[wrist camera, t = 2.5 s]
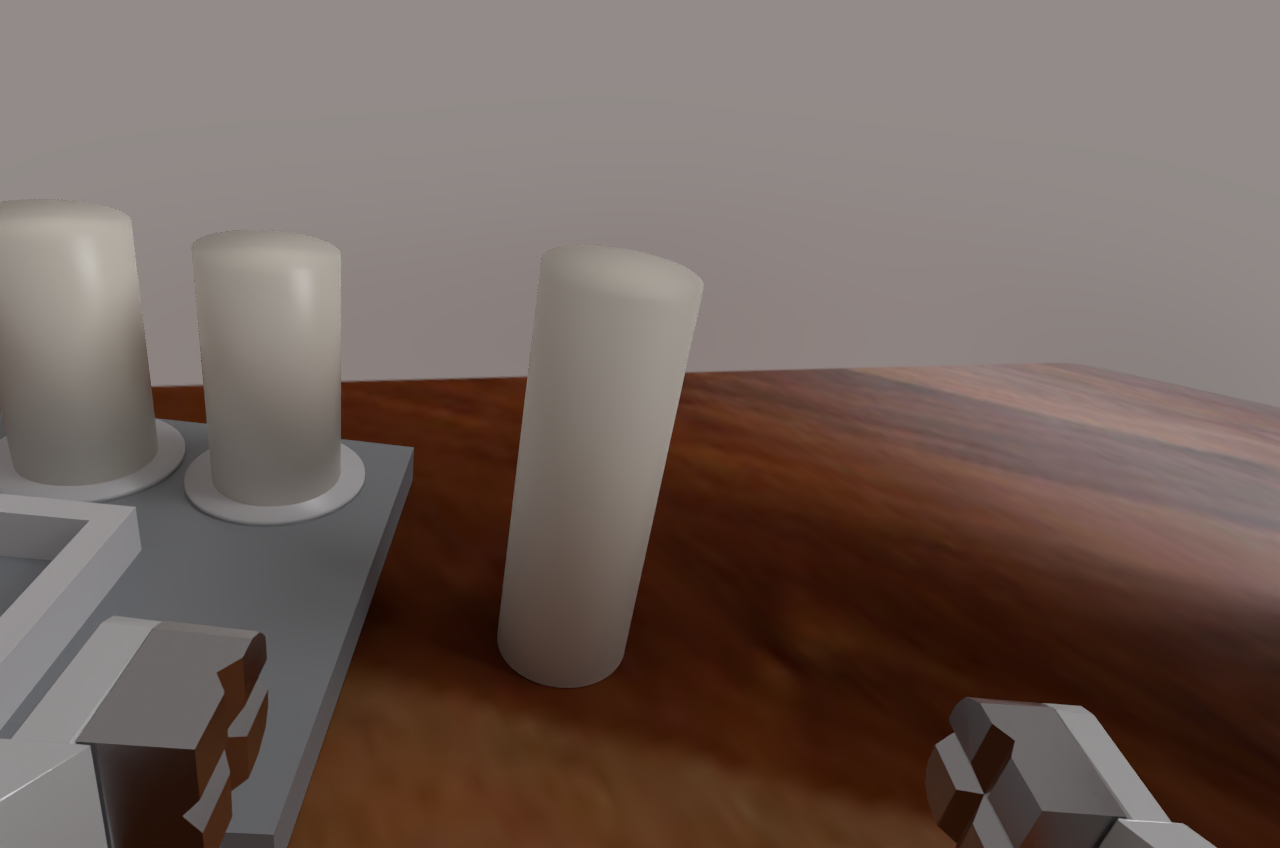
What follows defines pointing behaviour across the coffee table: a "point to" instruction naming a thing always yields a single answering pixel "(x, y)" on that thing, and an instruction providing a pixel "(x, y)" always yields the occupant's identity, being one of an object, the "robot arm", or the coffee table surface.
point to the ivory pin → (591, 456)
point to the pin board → (186, 475)
